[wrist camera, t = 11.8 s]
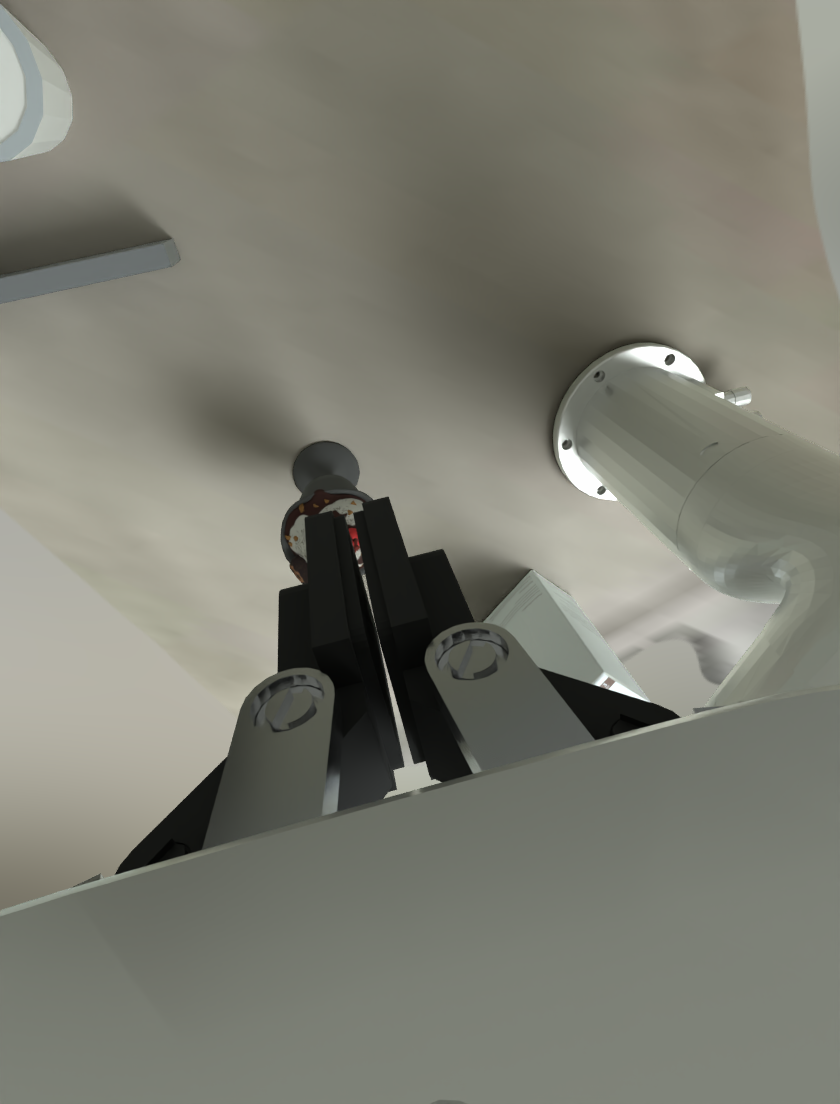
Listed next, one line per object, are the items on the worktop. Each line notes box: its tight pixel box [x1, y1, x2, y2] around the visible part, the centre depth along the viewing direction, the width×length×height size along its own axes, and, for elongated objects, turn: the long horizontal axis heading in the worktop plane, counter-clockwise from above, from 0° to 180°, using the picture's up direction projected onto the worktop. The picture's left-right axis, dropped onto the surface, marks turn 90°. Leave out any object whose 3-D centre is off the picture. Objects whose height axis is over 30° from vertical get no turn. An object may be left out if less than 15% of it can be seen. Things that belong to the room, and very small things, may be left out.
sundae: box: [281, 442, 373, 584], centre depth 40 cm, size 7×7×15 cm
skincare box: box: [484, 570, 651, 703], centre depth 51 cm, size 8×6×15 cm
